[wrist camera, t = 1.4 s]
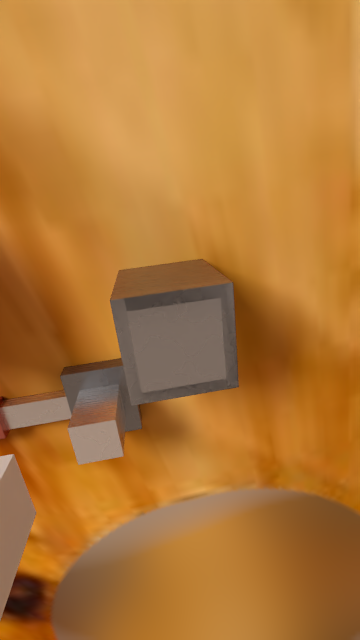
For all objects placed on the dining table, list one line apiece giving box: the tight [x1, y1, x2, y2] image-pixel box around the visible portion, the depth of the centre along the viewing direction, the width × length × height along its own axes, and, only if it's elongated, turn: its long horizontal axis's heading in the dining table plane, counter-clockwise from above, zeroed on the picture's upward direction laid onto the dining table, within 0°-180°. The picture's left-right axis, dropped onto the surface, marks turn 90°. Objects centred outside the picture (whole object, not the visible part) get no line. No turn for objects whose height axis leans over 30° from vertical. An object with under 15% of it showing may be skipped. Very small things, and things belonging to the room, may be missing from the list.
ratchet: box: [0, 358, 142, 465], centre depth 26 cm, size 7×18×6 cm, turn 97°
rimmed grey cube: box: [110, 259, 239, 406], centre depth 23 cm, size 7×7×9 cm
